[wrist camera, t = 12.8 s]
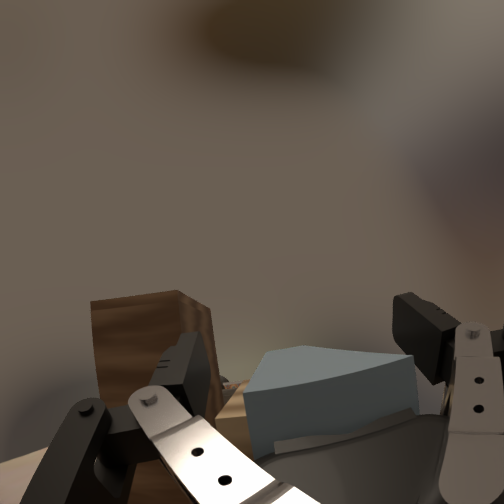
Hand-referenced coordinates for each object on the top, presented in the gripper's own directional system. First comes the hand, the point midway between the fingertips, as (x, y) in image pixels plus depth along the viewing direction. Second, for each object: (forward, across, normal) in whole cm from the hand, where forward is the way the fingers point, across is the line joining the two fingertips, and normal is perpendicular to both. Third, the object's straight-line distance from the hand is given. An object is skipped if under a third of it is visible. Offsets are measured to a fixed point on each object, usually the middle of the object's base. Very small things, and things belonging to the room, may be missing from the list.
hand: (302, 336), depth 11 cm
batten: (+4, 0, +7) cm, 9 cm away
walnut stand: (+7, +14, +34) cm, 38 cm away
